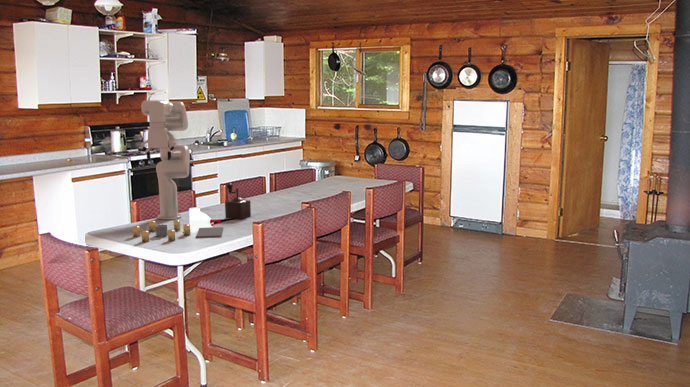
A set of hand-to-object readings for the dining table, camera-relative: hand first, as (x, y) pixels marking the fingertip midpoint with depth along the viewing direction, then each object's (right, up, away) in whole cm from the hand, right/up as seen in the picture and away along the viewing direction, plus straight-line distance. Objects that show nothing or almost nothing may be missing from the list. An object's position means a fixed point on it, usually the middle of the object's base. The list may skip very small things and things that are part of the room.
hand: (159, 159), depth 312 cm
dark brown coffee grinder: (+32, -30, +34) cm, 56 cm away
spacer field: (+4, -38, -9) cm, 39 cm away
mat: (+27, -37, -4) cm, 46 cm away
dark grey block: (+4, -38, -9) cm, 39 cm away
